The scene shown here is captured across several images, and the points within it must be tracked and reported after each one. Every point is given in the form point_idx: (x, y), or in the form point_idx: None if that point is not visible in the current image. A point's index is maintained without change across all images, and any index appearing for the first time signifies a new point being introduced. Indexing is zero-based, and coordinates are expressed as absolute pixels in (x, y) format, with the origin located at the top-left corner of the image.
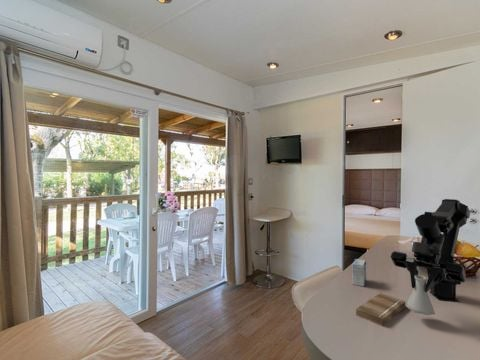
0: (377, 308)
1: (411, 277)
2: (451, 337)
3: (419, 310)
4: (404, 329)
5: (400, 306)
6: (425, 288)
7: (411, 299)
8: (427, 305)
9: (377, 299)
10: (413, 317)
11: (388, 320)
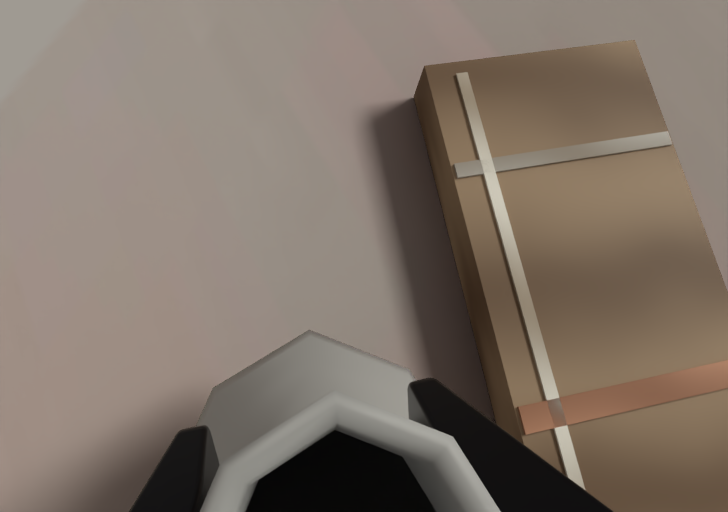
0: (570, 194)
1: (554, 487)
2: (30, 423)
3: (271, 357)
4: (307, 195)
5: None
6: (194, 445)
7: (393, 388)
8: None
9: (706, 364)
10: None
11: (441, 196)
